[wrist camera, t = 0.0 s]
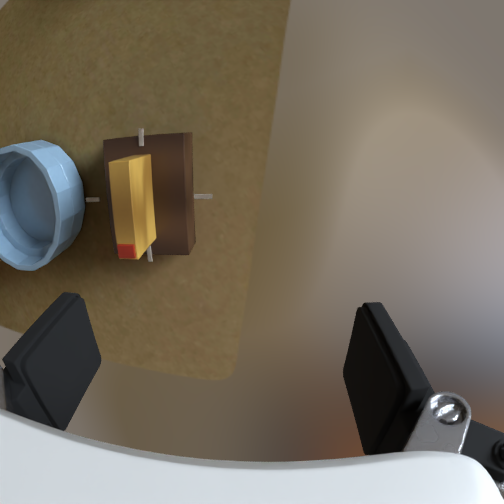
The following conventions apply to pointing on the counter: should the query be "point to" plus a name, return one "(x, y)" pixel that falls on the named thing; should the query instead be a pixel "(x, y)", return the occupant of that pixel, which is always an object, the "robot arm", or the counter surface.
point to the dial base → (161, 188)
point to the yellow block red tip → (132, 205)
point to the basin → (38, 203)
